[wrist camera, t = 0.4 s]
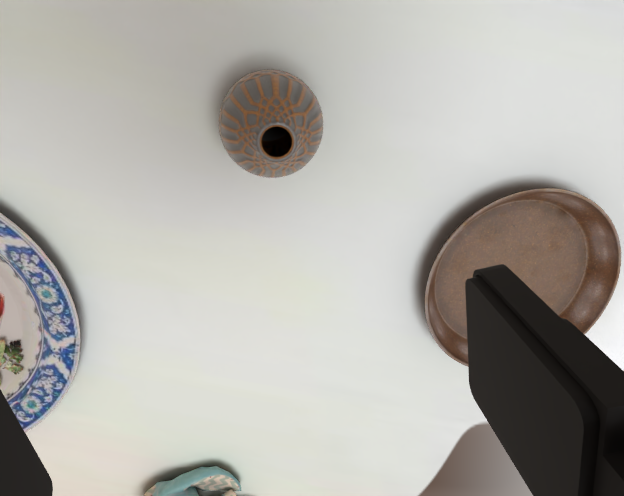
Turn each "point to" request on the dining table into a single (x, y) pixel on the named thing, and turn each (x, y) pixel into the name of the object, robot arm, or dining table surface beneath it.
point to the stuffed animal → (197, 483)
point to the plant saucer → (527, 260)
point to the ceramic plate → (34, 328)
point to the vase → (270, 123)
